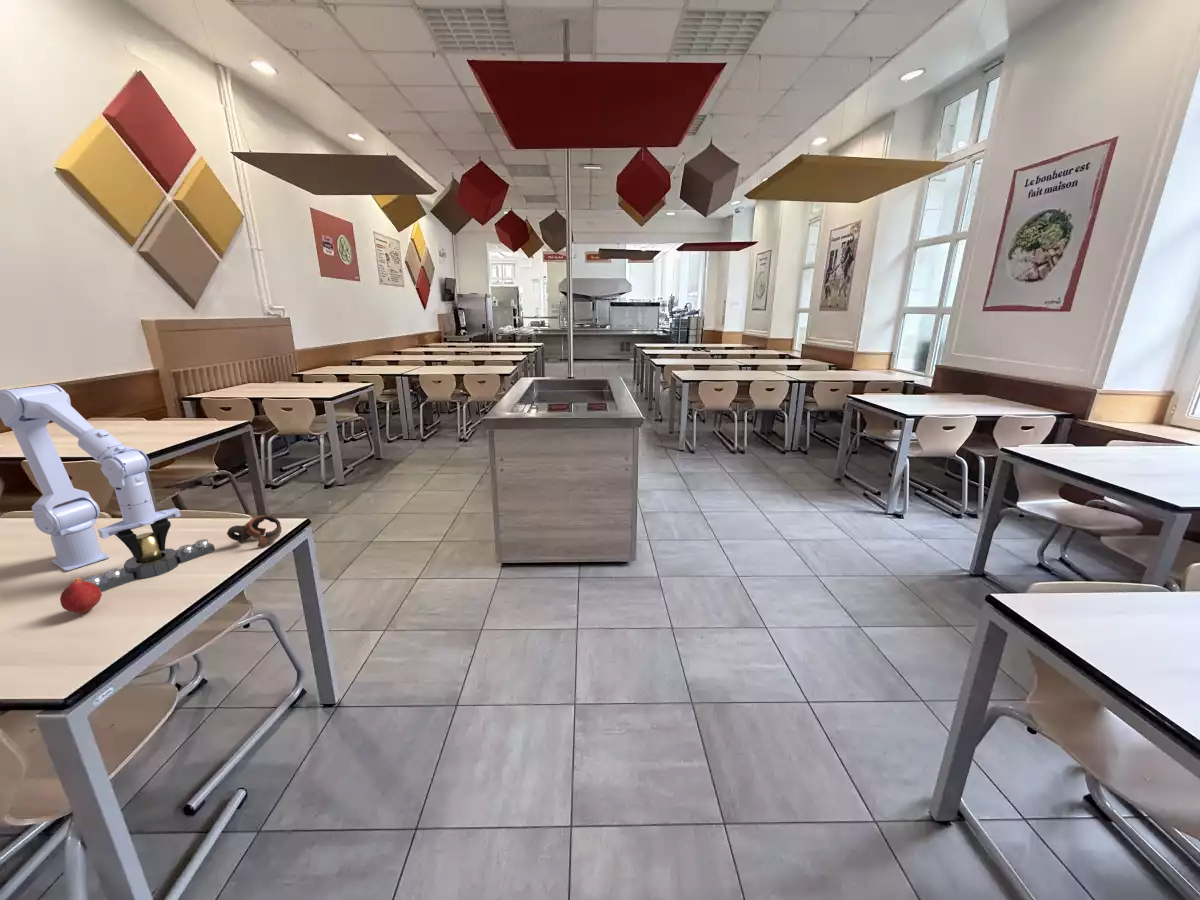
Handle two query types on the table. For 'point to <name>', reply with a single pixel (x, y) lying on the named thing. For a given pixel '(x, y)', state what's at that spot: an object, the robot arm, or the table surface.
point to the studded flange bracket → (151, 565)
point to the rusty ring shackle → (255, 531)
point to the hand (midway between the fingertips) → (149, 553)
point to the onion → (80, 596)
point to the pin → (148, 547)
